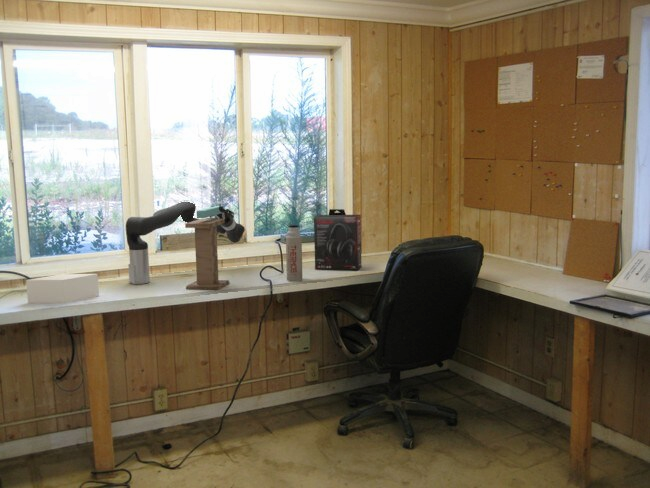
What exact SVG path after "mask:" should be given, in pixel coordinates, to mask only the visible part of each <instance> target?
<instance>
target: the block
mask: <svg viewBox="0 0 650 488" xmlns="http://www.w3.org/2000/svg"><path fill="white" fill-rule="evenodd" d="M98 275H99V274H98V273H60V274H55V275H49V276H42V277H36V278H31V279H25V283H26V294H27V304H68V303H70V302H71V303H72V302H76V301H77V302H78V301H82V300H87V299H92V298H97V297H99V296H100V291H99V288H100V287H99V276H98Z"/></svg>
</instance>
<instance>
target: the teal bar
mask: <svg viewBox="0 0 650 488" xmlns="http://www.w3.org/2000/svg"><path fill="white" fill-rule="evenodd" d="M213 206H214V207H212V206H211V207H207V208H203V209H198V210H196V219H206V218H211V217H210V216H214V215H217V214H221V213H222V212H221V211H220V210H219V206H220V205H213ZM221 206H222V207H223V208H224V205H221Z"/></svg>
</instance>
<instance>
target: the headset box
mask: <svg viewBox="0 0 650 488" xmlns="http://www.w3.org/2000/svg"><path fill="white" fill-rule="evenodd" d="M361 216H362V215H361V214H346V212H345V209H344V208H343V209H342V208H341V209H339V208H337V209H336V208H335V209H331V208H330V209H329V211H328V214H316V215H315V216H313V233H314V234H313V235H314V237H313V239H314V269H315V270H321V271H322V270H327V271H328V270H334V271H335V270H338V271H359V269H361V268H362V217H361Z"/></svg>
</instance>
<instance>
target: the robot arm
mask: <svg viewBox="0 0 650 488" xmlns="http://www.w3.org/2000/svg"><path fill="white" fill-rule="evenodd" d="M180 202H181V203H179V202H178V203H176V204H174V205H171V206H168V207H166V208H162V209H159V210H156V211H155V212H154V213H153V215H151V216H130V217H128V218H127V220H126V223H125V234H126V243H127V246H128V252H129V256H128V257H129V263H128V265H127V266H128V280H129V283H130V284H133V285H143V284H149V283H150V282H151V281H150V280H151V278H150V276H151V275H150V263H149V262H150V261H149V259H150V257H149V244H148V242H147V241H145V240H143V239H142V238H141V236H146V235H147V236H148V234H151V233H152V232H154V231H156V230H159V229H162V228H165V227H168V226H171V225H172V224H174V223H175V222H176V221H177V219H178V217H179V216H180V215H181V217H182V219H183V221H185V222H184V223H186V222H187V223H189V222H192V221H196V220H199V219H200V218H197V217H195V214H194V213H196V209H197V206H195V205H196V203H194V202H193V203H194V204H193V203H190V202H182V201H180ZM214 206H215V205H211V207H214ZM218 206H219V210H220V211H221V212H222V213H221V214H217V215H214V216H210V217H207V218H205V219H224V222H225V223H223V224H220V225H217V226H216V228H217V234H218V233H219V234H222V235H225V234H226V237H227V239H228V240H229V241H230V242H231V243H238V242H240V240H241V239H242V237H243V234H244V232H245V230H246V228H245V226H244V225H243V224H241V223H238V222H236V220H235V212H234V211H232V210H230V209H229V208H224V206H223V205H218ZM222 206H223V207H222ZM193 216H194V218H193ZM178 220H179V219H178ZM183 221H182V222H183Z"/></svg>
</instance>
